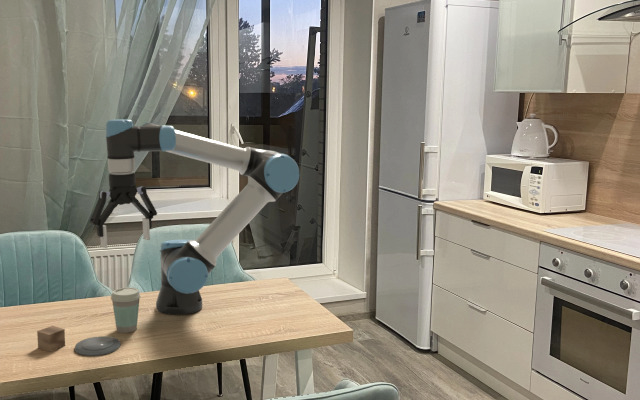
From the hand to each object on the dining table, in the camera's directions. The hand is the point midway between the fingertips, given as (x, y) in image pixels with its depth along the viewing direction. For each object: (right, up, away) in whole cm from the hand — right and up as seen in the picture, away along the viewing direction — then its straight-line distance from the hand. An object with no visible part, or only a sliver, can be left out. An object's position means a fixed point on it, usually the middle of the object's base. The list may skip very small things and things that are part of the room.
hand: (125, 243), depth 189 cm
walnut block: (-17, -28, -11) cm, 35 cm away
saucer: (-5, -28, -11) cm, 31 cm away
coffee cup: (-1, -26, +3) cm, 27 cm away
